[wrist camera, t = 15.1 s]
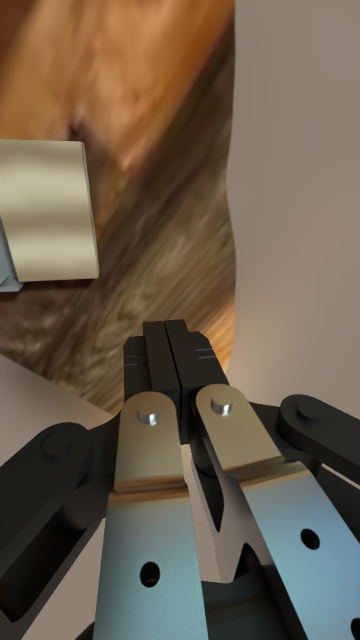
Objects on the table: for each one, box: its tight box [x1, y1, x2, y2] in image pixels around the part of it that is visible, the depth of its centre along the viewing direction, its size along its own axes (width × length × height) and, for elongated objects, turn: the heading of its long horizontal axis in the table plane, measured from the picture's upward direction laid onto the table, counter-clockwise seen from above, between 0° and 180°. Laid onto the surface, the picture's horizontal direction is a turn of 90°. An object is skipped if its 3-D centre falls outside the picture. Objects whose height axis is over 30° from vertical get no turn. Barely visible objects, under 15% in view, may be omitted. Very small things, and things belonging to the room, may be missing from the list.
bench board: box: [0, 139, 99, 282], centre depth 33 cm, size 14×9×3 cm, turn 179°
